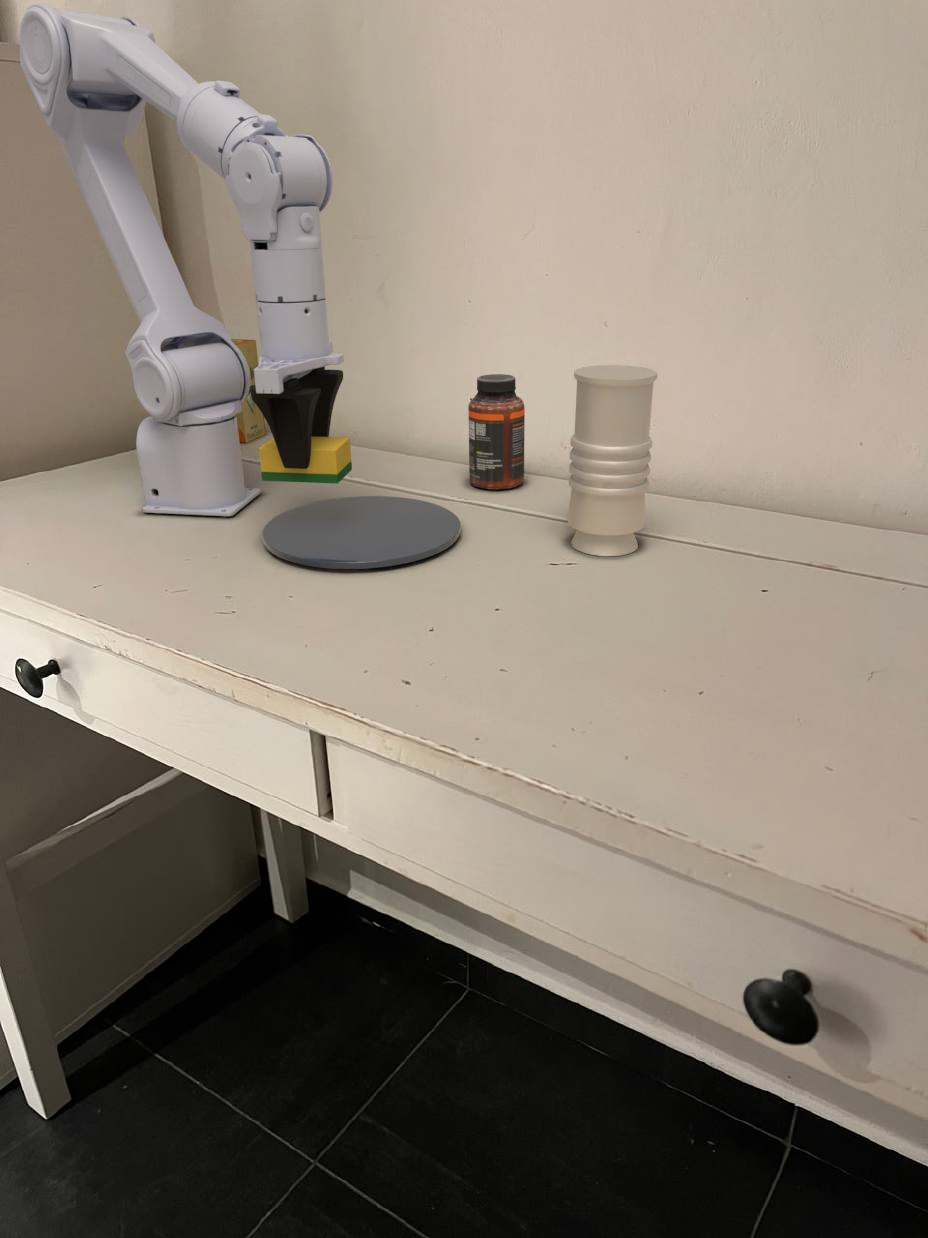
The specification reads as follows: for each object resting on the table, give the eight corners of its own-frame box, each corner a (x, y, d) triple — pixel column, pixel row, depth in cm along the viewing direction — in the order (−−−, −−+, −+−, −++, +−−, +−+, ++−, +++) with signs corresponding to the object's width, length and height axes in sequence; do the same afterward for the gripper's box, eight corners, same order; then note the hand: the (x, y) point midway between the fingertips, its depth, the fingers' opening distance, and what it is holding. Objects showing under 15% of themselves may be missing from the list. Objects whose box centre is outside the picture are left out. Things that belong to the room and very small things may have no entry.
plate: (231, 567, 75) (230, 556, 74) (301, 501, 91) (300, 492, 90) (440, 579, 72) (440, 567, 71) (474, 509, 88) (474, 499, 87)
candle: (658, 542, 79) (674, 371, 72) (614, 564, 74) (627, 383, 68) (595, 525, 83) (605, 362, 77) (550, 545, 79) (556, 372, 72)
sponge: (262, 480, 78) (258, 447, 77) (279, 467, 82) (276, 435, 81) (338, 483, 77) (335, 450, 76) (352, 469, 81) (349, 437, 80)
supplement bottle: (525, 476, 98) (527, 371, 93) (522, 492, 93) (525, 382, 88) (471, 475, 99) (470, 371, 94) (466, 491, 93) (465, 381, 88)
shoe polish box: (212, 440, 114) (199, 343, 109) (233, 431, 118) (221, 338, 113) (246, 443, 113) (234, 345, 107) (265, 433, 117) (255, 339, 112)
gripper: (309, 309, 66) (324, 484, 72) (361, 291, 79) (369, 441, 85) (220, 309, 67) (242, 481, 73) (285, 290, 80) (299, 438, 86)
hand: (305, 459), depth 79 cm, fingers closed on sponge, 4 cm apart
